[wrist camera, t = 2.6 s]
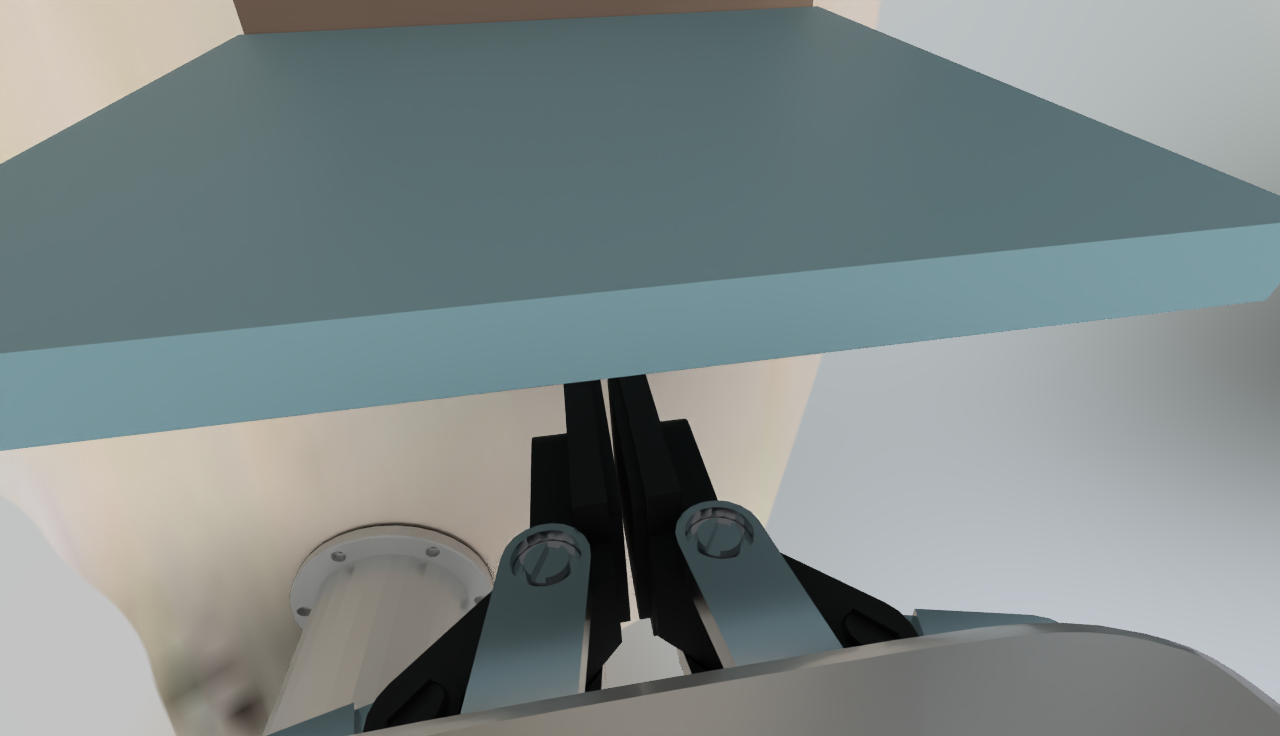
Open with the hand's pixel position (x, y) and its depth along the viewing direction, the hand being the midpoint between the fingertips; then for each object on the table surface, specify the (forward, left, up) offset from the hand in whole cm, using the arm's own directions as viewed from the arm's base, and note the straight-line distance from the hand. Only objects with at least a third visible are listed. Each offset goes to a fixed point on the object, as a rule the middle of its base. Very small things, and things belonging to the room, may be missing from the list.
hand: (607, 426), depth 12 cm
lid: (+5, +4, -3) cm, 7 cm away
